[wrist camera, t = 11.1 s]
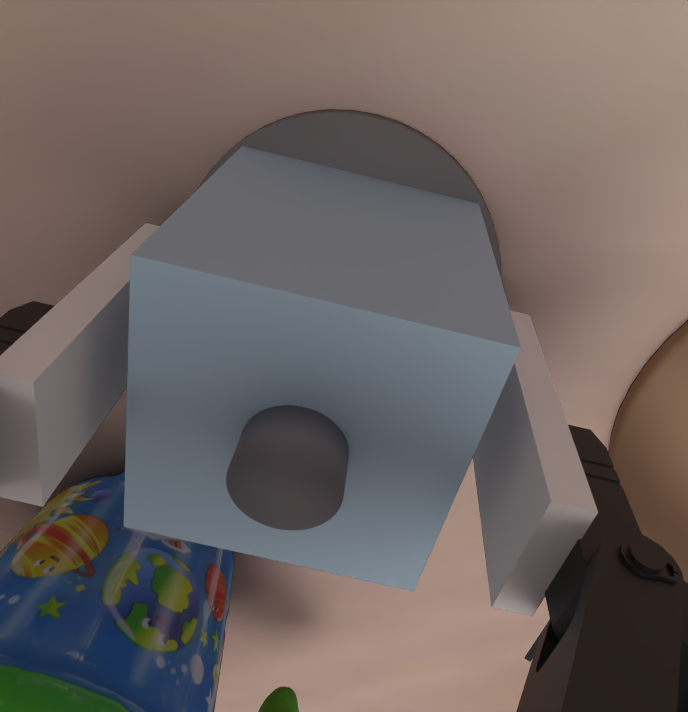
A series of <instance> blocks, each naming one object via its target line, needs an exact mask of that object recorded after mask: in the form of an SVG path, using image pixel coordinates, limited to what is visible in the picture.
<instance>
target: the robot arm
mask: <svg viewBox="0 0 688 712" xmlns="http://www.w3.org/2000/svg"><path fill="white" fill-rule="evenodd" d="M159 227H160V226H157V225H152V224H148V223H145V224H144V225H143V226H142V227H141V228H140V229H139V230H137V231H136V232H135V233H134V234H133V235H132V236H131V237H130V238H129V239H128V240H126V241H125V242H124V243H123V244H122V245H121V246H120V247H119V248H118V249H117V250H116V251H114V252H113V253H112V254H111V255H110V256H109V257H108V258H107V259H106V260H105V261H103V262H102V263H101V264H100V265H99V266H98V267H97V268H96V269H95V270H94V271H92V272H91V273H90V274H89V275H88V276H87V277H86V278H85V279H84V280H83V281H82V282H80V283H79V284H78V285H77V286H76V287H75V288H74V289H73V290H72V291H71V292H69V293H68V294H67V295H66V296H65V297H64V298H63V299H62V300H61V301H60V302H58V303H57V304H56V305H55V306H52V305H48V304H44V303H40V302H35V301H32V302H30V303H27V304H25V305H22V306H19V307H17V308H14V309H12V310H9V311H8V312H7V313H5V314H4V315H3V316H2V317H1V318H0V497H1V498H6V499H10V500H15V501H19V502H24V503H28V504H33V505H37V506H41V507H43V506H44V505H45V503H46V502H47V500H48V499H49V497H50V496H51V495H52V493H53V492H54V490H55V489H56V487H57V486H58V485H59V483H60V482H61V480H62V479H63V477H64V476H65V475H66V473H67V472H68V470H69V469H70V467H71V466H72V465H73V463H74V462H75V460H76V459H77V458H78V456H79V455H80V453H81V452H82V450H83V449H84V448H85V446H86V445H87V443H88V442H89V440H90V439H91V438H92V436H93V435H94V433H95V432H96V430H97V429H98V428H99V426H100V425H101V423H102V422H103V420H104V419H105V418H106V416H107V415H108V413H109V412H110V410H111V409H112V408H113V406H114V405H115V403H116V402H117V400H118V399H119V398H120V396H121V395H122V393H123V392H124V391H125V389H126V388H127V375H128V337H129V299H130V261H131V254H132V253H133V252H134V251H135V250H136V249H137V248H138V247H139V246H140V245H141V244H142V243H143V242H144V241H145V240H146V239H147V238H148V237H149V236H150V235H151V234H152V233H153V232H154V231H155V230H157V229H158V228H159ZM510 312H511V315H512V319H513V322H514V325H515V329H516V332H517V336H518V339H519V343H520V346H521V349H520V351H519V353H518V356H517V358H516V360H515V362H514V365H513V367H512V369H511V372H510V374H509V376H508V378H507V381H506V383H505V385H504V387H503V390H502V392H501V394H500V396H499V399H498V401H497V403H496V406H495V408H494V410H493V412H492V415H491V417H490V419H489V421H488V424H487V426H486V428H485V430H484V433H483V435H482V437H481V440H480V442H479V444H478V446H477V449H476V451H475V453H474V455H473V462H474V470H475V478H476V486H477V494H478V502H479V510H480V518H481V526H482V534H483V542H484V550H485V558H486V566H487V574H488V582H489V590H490V598H491V606H492V607H493V608H497V609H502V610H506V611H511V612H515V613H520V614H524V615H529V616H533V615H534V613H535V612H536V610H537V608H538V607H539V605H540V604H541V602H542V600H543V599H544V597H546V601H547V606H548V611H549V615H550V620H549V622H548V623H547V625H546V626H545V628H544V629H543V631H542V632H541V634H540V635H539V637H538V638H537V640H536V641H535V643H534V644H533V646H532V647H531V649H530V650H529V652H528V653H527V655H526V656H525V659H527V660H528V661H531V660H532V659H533V660H532V663H531V666H530V670H529V673H528V676H527V679H526V683H525V686H524V689H523V692H522V696H521V699H520V702H519V705H518V709H517V712H688V583H687V582H685V581H684V578H683V574H682V571H681V569H680V567H679V566H678V564H677V563H676V561H675V559H674V558H673V557H672V556H671V555H670V554H669V553H668V552H667V551H666V550H665V549H664V548H663V547H662V546H660V545H659V544H657V543H656V542H654V541H653V540H651V539H650V538H648V537H646V536H644V535H642V533H641V531H640V528H639V526H638V523H637V521H636V519H635V516H634V514H633V511H632V509H631V506H630V504H629V502H628V499H627V497H626V494H625V492H624V489H623V487H622V485H620V480H619V477H618V475H617V472H616V470H613V468H614V465H613V463H612V460H611V458H610V455H609V453H608V451H607V448H606V447H605V446H604V445H603V444H602V442H601V441H600V440H599V439H598V438H597V437H596V436H595V435H594V433H593V432H592V431H591V430H589V429H584V428H580V427H576V426H572V425H568V424H567V421H566V418H565V415H564V412H563V409H562V406H561V404H560V401H559V398H558V395H557V392H556V389H555V386H554V383H553V381H552V378H551V375H550V372H549V369H548V366H547V363H546V360H545V358H544V355H543V352H542V349H541V346H540V343H539V340H538V337H537V334H536V332H535V329H534V326H533V323H532V320H531V317H530V315H528V314H524V313H519V312H515V311H511V310H510Z"/></svg>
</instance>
